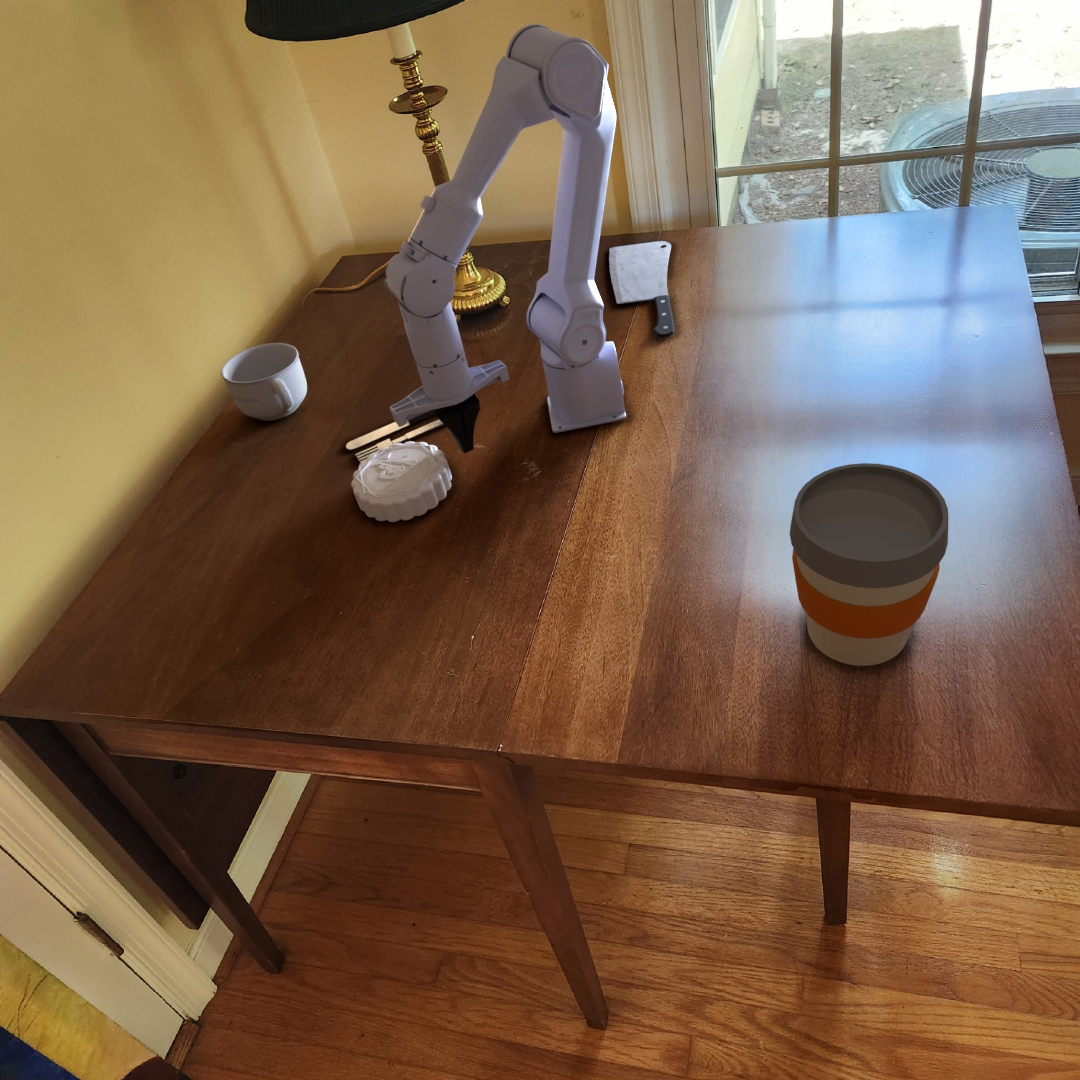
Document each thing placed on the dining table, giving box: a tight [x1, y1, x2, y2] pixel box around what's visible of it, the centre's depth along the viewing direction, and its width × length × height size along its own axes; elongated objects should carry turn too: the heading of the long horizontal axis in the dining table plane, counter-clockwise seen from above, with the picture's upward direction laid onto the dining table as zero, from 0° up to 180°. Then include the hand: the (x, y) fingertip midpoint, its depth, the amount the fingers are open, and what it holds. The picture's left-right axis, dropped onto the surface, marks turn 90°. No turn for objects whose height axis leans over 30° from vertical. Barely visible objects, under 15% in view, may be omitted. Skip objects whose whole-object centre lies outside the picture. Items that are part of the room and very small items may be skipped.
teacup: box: [220, 342, 308, 421], centre depth 126 cm, size 14×11×8 cm
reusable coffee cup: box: [789, 462, 949, 667], centre depth 79 cm, size 13×12×15 cm
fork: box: [354, 419, 445, 465], centre depth 119 cm, size 16×2×1 cm, turn 117°
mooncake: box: [350, 440, 453, 523], centre depth 110 cm, size 12×12×4 cm
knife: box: [345, 410, 435, 452], centre depth 121 cm, size 17×2×1 cm, turn 117°
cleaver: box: [608, 240, 676, 338], centre depth 136 cm, size 29×1×10 cm
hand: (466, 447), depth 111 cm, fingers closed
